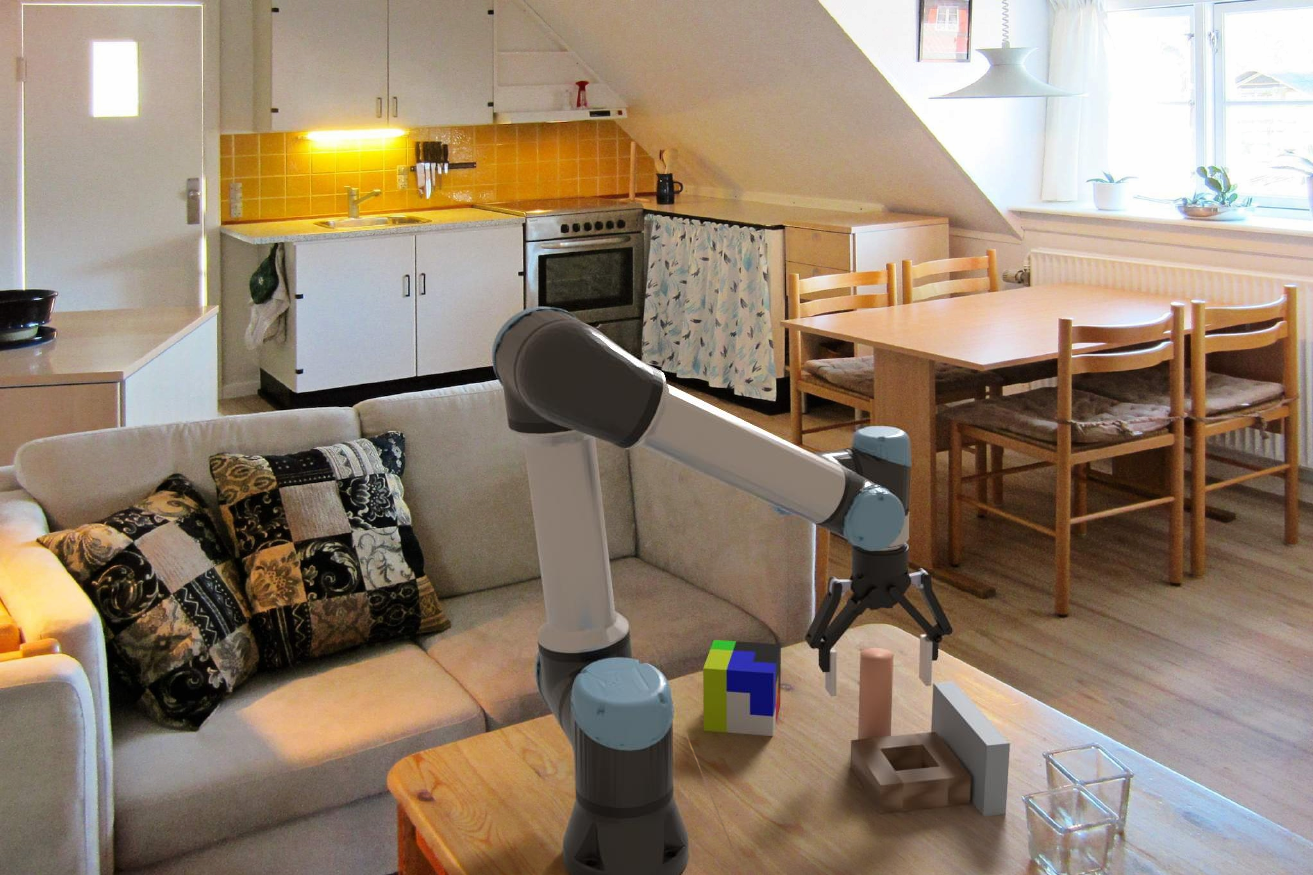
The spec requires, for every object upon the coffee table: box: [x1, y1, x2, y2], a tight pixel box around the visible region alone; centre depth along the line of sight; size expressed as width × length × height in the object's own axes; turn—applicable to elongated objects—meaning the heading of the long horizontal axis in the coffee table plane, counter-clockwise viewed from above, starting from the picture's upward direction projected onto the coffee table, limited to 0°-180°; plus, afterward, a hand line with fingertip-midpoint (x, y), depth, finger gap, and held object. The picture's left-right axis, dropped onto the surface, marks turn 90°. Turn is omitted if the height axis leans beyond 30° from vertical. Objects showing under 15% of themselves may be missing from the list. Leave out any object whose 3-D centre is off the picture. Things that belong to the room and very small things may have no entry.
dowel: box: [857, 647, 894, 739], centre depth 178 cm, size 4×4×14 cm
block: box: [849, 731, 971, 815], centre depth 169 cm, size 12×12×4 cm
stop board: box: [930, 680, 1011, 817], centre depth 170 cm, size 3×18×10 cm, turn 9°
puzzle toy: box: [702, 639, 782, 737], centre depth 188 cm, size 10×10×10 cm
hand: (878, 686), depth 178 cm, fingers open, 13 cm apart
